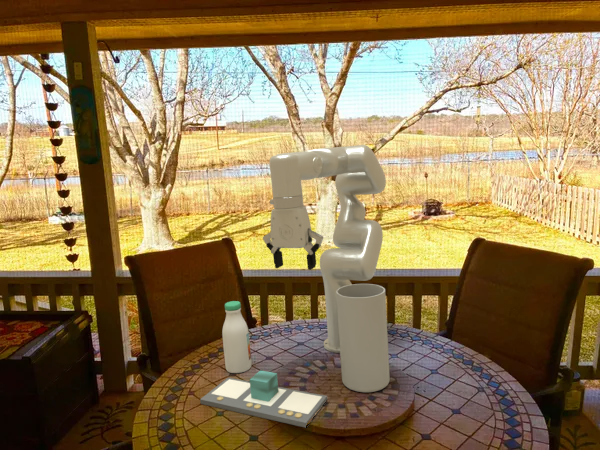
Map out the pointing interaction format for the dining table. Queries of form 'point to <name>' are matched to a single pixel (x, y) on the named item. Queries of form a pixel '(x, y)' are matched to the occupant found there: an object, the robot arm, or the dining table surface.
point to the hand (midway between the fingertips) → (295, 267)
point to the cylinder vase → (363, 337)
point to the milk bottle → (236, 340)
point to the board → (265, 402)
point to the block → (264, 386)
